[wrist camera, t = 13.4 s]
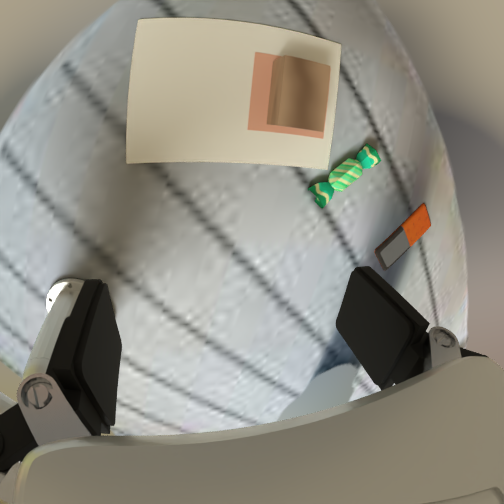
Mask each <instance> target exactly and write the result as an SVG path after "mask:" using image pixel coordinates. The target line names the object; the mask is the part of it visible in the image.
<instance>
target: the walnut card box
mask: <svg viewBox="0 0 504 504" xmlns="http://www.w3.org/2000/svg"><path fill="white" fill-rule="evenodd" d="M329 77H330V66H329V65H325V64H322V63H318V62H314V61H310V60H306V59H302V58H297V57H293V56H288V55H284V56H282V57H280V58H278V59H277V60H275V61H273V66H272V76H271V86H270V95H269V105H268V114H267V124H268V125H277V126H285V127H292V128H299V129H306V130H312V131H319V132H323V130H324V122H325V114H326V105H327V96H328V87H329Z"/></svg>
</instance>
